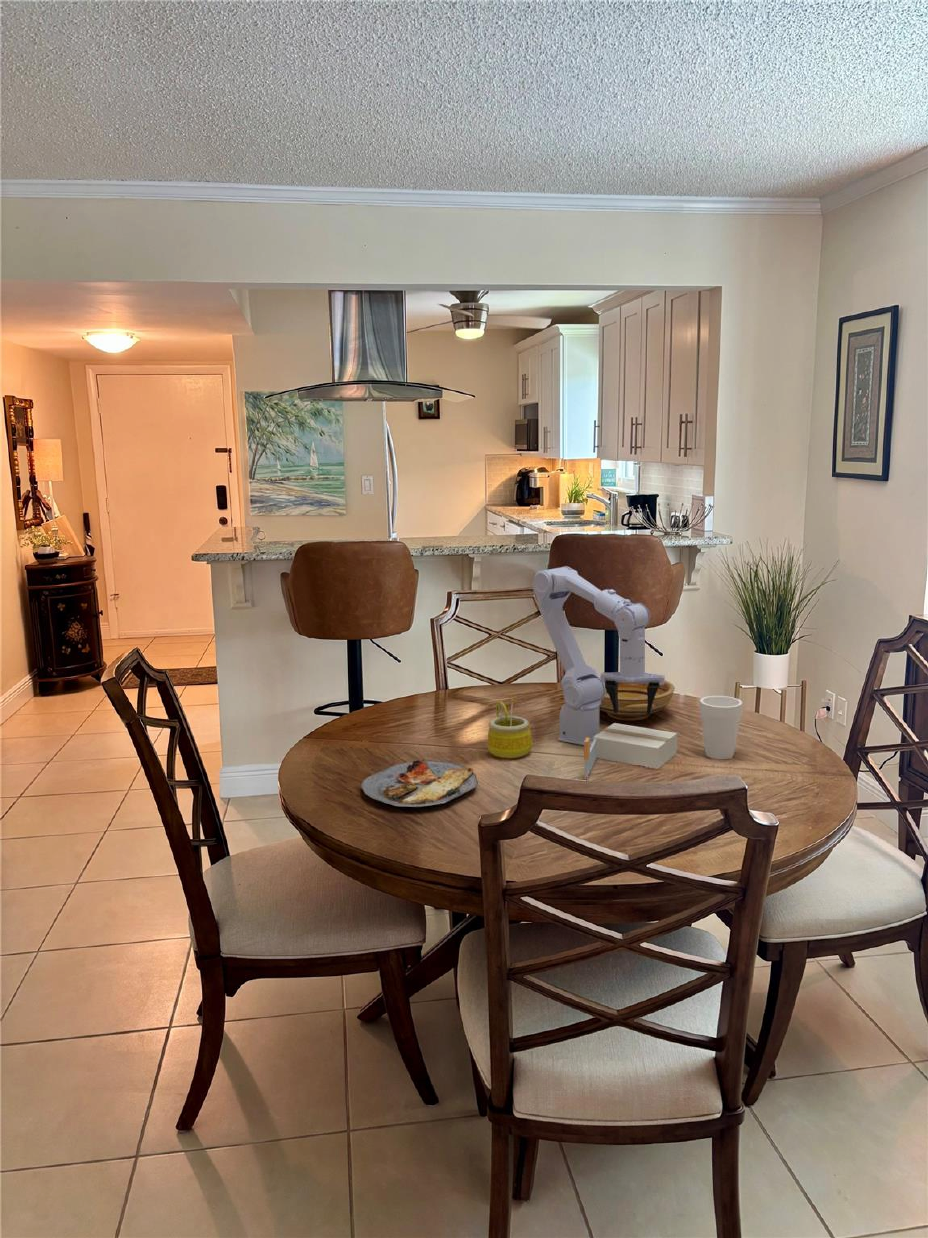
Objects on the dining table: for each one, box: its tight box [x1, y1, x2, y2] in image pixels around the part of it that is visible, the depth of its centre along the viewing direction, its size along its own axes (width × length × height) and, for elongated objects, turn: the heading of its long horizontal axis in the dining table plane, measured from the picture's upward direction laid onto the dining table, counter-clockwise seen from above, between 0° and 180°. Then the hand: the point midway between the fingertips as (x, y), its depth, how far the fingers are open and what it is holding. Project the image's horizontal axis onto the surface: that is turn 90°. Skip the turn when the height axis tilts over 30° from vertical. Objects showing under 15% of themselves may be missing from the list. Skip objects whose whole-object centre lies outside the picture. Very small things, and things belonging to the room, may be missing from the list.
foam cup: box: [699, 695, 743, 760], centre depth 207 cm, size 10×9×13 cm
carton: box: [593, 722, 678, 770], centre depth 209 cm, size 16×12×5 cm
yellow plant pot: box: [486, 698, 534, 759], centre depth 213 cm, size 13×11×12 cm
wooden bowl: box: [599, 676, 676, 721], centre depth 240 cm, size 30×24×8 cm
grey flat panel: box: [583, 737, 598, 778], centre depth 200 cm, size 14×1×9 cm, turn 163°
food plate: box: [361, 758, 479, 809], centre depth 192 cm, size 25×23×4 cm
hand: (632, 712), depth 207 cm, fingers open, 7 cm apart
